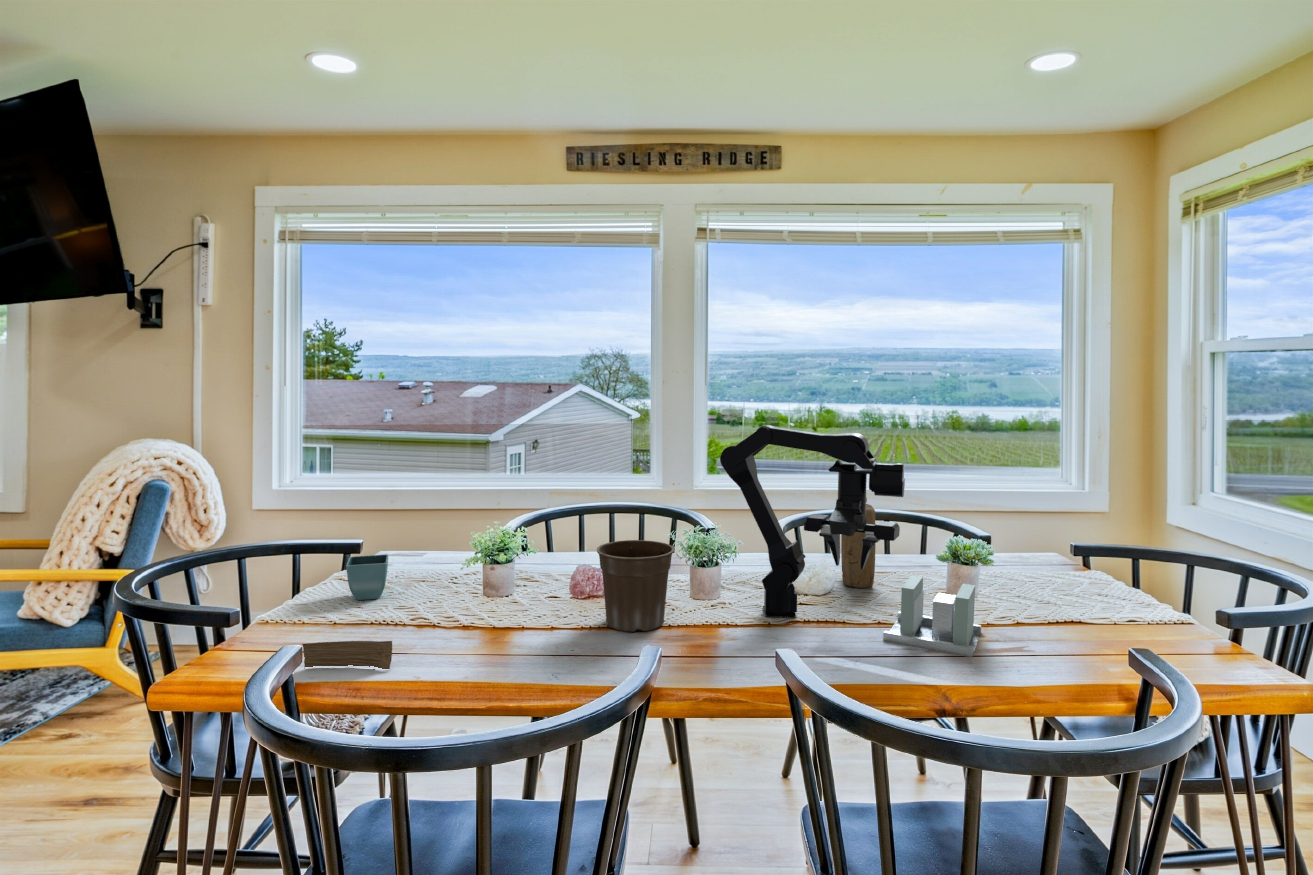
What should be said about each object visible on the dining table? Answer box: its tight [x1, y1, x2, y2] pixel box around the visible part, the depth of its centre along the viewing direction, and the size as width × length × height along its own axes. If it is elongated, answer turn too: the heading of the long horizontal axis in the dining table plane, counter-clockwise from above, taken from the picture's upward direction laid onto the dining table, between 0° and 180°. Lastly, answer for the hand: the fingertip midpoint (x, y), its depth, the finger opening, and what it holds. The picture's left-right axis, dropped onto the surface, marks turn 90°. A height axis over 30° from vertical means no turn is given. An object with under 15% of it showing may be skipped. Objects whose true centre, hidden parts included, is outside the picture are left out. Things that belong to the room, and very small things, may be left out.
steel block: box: [931, 592, 957, 643], centre depth 139 cm, size 4×6×8 cm, turn 150°
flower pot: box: [345, 554, 389, 601], centre depth 167 cm, size 9×9×9 cm
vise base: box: [882, 611, 982, 658], centre depth 141 cm, size 16×15×2 cm
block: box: [840, 503, 876, 589], centre depth 179 cm, size 11×8×20 cm
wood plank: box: [301, 640, 393, 669], centre depth 126 cm, size 15×2×5 cm, turn 93°
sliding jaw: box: [900, 574, 925, 636], centre depth 142 cm, size 2×10×10 cm, turn 150°
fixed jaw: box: [953, 583, 976, 646], centre depth 138 cm, size 2×10×10 cm, turn 150°
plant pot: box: [596, 539, 675, 633], centre depth 150 cm, size 16×16×16 cm
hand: (849, 567), depth 150 cm, fingers open, 5 cm apart
